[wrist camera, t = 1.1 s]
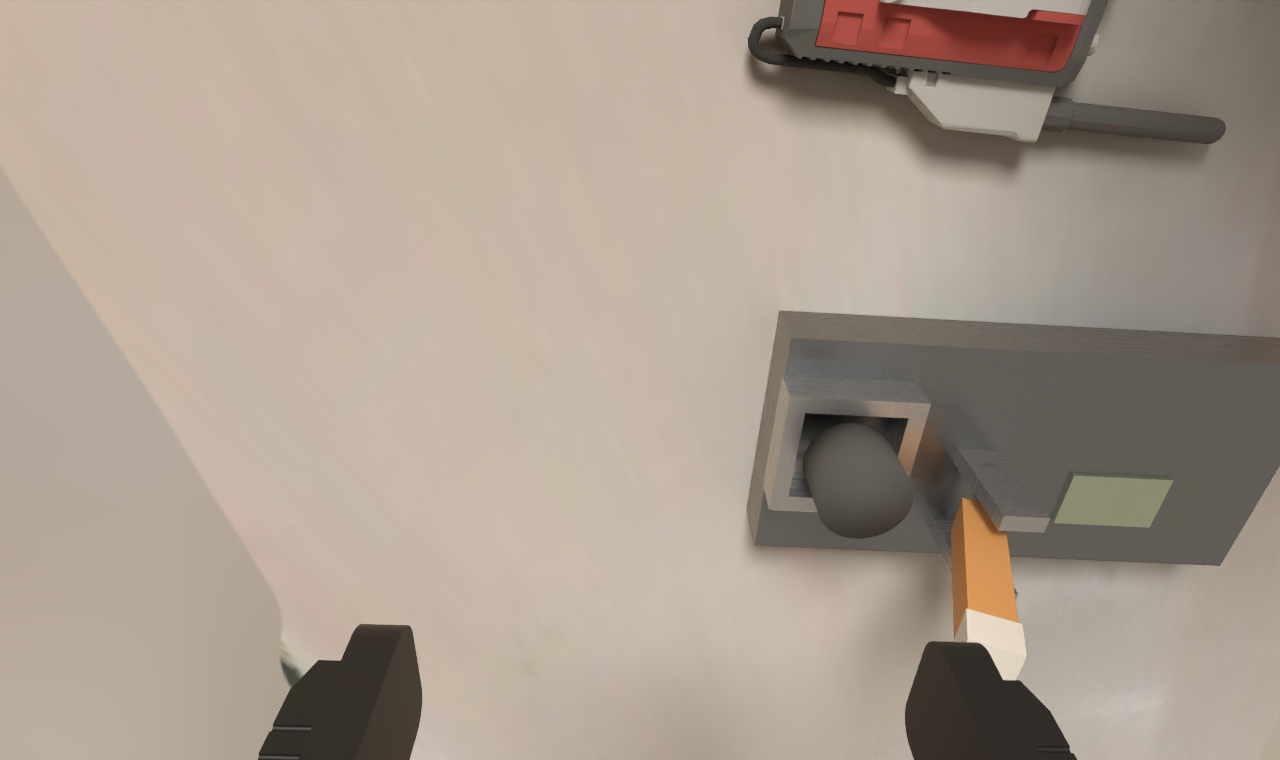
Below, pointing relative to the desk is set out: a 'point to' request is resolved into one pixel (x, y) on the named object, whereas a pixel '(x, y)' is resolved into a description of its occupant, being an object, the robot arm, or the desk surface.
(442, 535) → the desk surface
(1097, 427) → the breaker plate
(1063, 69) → the walkie-talkie
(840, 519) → the button
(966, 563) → the breaker lever
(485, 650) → the desk surface
